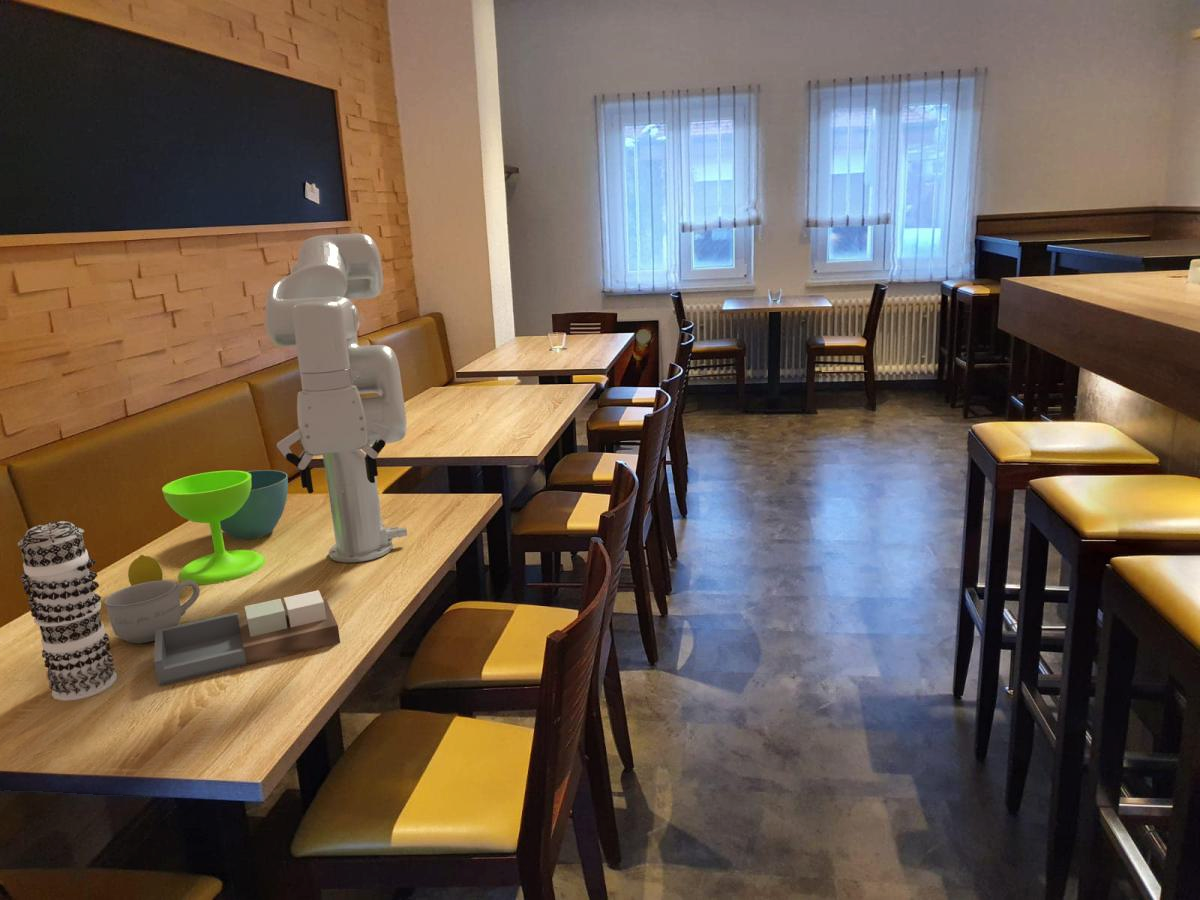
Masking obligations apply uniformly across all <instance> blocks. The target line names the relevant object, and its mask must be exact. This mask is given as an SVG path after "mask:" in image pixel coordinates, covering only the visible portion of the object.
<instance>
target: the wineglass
mask: <svg viewBox="0 0 1200 900" xmlns="http://www.w3.org/2000/svg"><path fill="white" fill-rule="evenodd" d="M251 487H252V484H251V474H250V473H248V472H247V471H244V470H218V471H217V470H216V471H208V472H201V473H196V474H192V475H188V476H184V477H181V478H177V479H176V480H173V481H170V482H168V483H166V484H165V485H164V486H163V487H162V488H161V489H162V490H161V491H162V494H163V497H164V499H165V501H166V503H167V504H168V505H169V507H170V508H171V509H172V510H173V511H174V512H175V513H176V514H178V515H179V516H180V517H181V518H183V519H186V520H189V521H191V522H193V523H199V524H201V523H202V524H209V528H210V529H209V530H210V533H211V539H212V545H213V550H214V552H213V553H211V554H207V555H204V556H202V557H199V558H197V559H194V560H192V561H190V562H189V563H187V564H186V565H185V566H183V568H181V570H180V571H179V573H178V574H179V576H178V579H179V581H181V582H182V581H185V580H191V581H194V582H195V583H197V585H213V584H212V583H215V584H220V583H219V582H221V583H225V582H224V581H226V582H230V580H231V581H234V580H237V579H240V578H243V577H244V578H245V577H246V576H249V575H251V574H254V573H255V572H257V571H259V570H260V569H261V568H262V567H264V565H265V564H264V563H266V559H265V557H264V555H262V554H260V553H259V552H257V551H254V550H248V549H234V550H232V549H231V550H226V549H225V547H226V546H225V543H224V538H223V530H221V525H220V521H222V520H224V519H226V518H229V517H231V516H232V515H234V514H235V513H236V512H237V511H239V510H240V509H241V508H242V507H243V505H244V504H245V502H246V500H247V499H248V497H249V494H250V491H251ZM258 569H259V570H258ZM254 571H255V572H254Z"/></svg>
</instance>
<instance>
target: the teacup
mask: <svg viewBox="0 0 1200 900" xmlns="http://www.w3.org/2000/svg"><path fill="white" fill-rule="evenodd" d="M186 587H190V588H192V595H191V596H190V597H189V598H188V600H187V601H186V602H184V603H183V604H181V601H180V598H181V596H182V592H183V590H184V588H186ZM200 593H201V589H200V587H199V584H197V583H195V582H194V581H191V580H185V581H181V582H179V583H178V584H177V582H175V581H173V580H168V579H167V580H166V579H164V580H163V579H162V580H161V581H151V582H145V583H141V584H136V585H133V586H131V585H130V586H127V587H124V588H123V589H119V590H117V591H115V592H113V593H111V594H110V595H108V596H107V597H106V599H104V605H105V606H106V609H107V614H108V619H109V623H110V625H111V628H112V631H113V633H114V635H116V637H118V638H119V639H121V640H123V641H127V642H128V643H131V644H145V643H149V642H153V641H154V642H155V630H158V629H163V628H168V627H172V626H177V625H179V623H180V621H181V618H182V617H183V616H184V615H185V613H186V612H187V610H188V609H189V608H190V607H191V606H193V604H194V603H196V601H197V600H198V598H199V597H200Z"/></svg>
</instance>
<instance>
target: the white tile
mask: <svg viewBox="0 0 1200 900" xmlns="http://www.w3.org/2000/svg"><path fill="white" fill-rule="evenodd" d="M323 599H324V598H323V596H322V594H321V592H320V590H318V589H317V590H314V591H309V592H305V593H299V594H295V595H291V596H286V597H283V601H284V607H285V608H286V614H287V617H288V621H289V624H290V627H295V626H299V625H304V624H308V623H312V622H317V621H321V620H325V619H326V613H325V606H324V601H323Z"/></svg>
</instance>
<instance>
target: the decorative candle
mask: <svg viewBox="0 0 1200 900" xmlns="http://www.w3.org/2000/svg"><path fill="white" fill-rule="evenodd" d="M84 533H85V530H84V529H83V528H81V527H77V526H76V525H75V524H74V523H72V522H70V521H64V520H63V521H52V522H47V523H43V524H38V525H36V526H34V527H32V528H29V529H28V530H27V531H26V532H25V533H24V536H23V538H22V539H21V540H19V541H18V542H17V546H18V547H20V550H21V555H22V559H23V564H22V566H23V571H22V573H21V574H22V575H21V576H20V581H22V584H23V585H24V586H23V590H24V594H25V595H28V597H29V598H28V600H27V603H28V604H29V607H30V614H31V617H32V618H34V620H33V623H34V624H35V625H37V626H38V627H39V630H40V635H41V640H40V641H41V646H42V649H43V650H42V651H41V657H42V658H44V659H45V660H44V667H45V668H46V669H48V670H47V671H46V678H47V680H48V681H49V683H48V687H49V689H51V690H52V692H51V696H52V697H53V699H55V700H56V701H61V702H69V701H70V702H71V701H78V700H83V699H87V698H90V697H93V696H94V695H95V696H96V695H98V694H100V693H102V692H104V691H105V690H107V689H110V688H111V687H112V686H113V685H114V684H115V683H116V682H117V680H118V679H117V678H118V676H117V673H116V672H115V670H116V666H115V663H114V662H113V661H114V660H115V659H114V658H113V654H112V653H110V650H111V644H110V643H109V640H110V638H109V635H108V633H106V630H105V626H104V623H103V622H102V619H101V614H100V610H101V609H102V603H101V598H102V597H101V596H100V594H98V593H97V594H96V593H95V592H94V591H96V590H97V589H98V588H99V587H100V584H99V582H97V581H95V579H96V578H97V577H98V574H97V572H95V571H93V570H90V568H92V567H93V566H94V565H95V564H96V561H95V560H94V559H93V558H91V557H89V552H88V549H86V547H85V542H84V541H85V540H84V536H83V534H84Z"/></svg>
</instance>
